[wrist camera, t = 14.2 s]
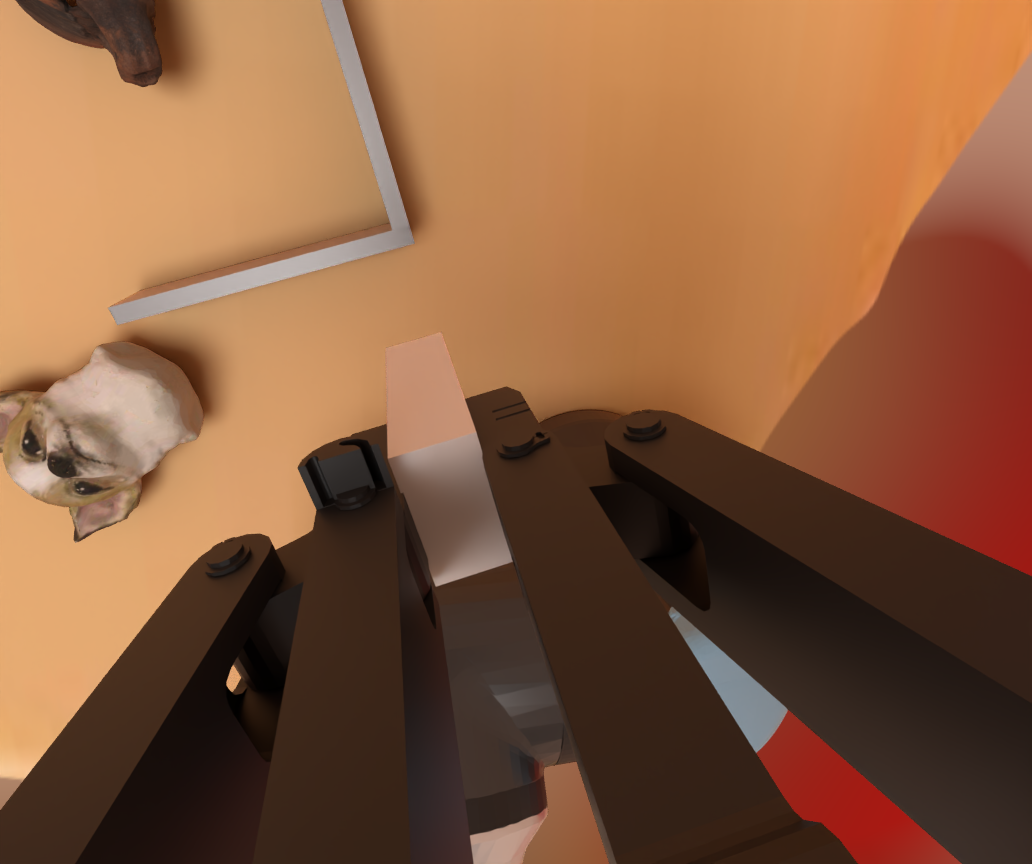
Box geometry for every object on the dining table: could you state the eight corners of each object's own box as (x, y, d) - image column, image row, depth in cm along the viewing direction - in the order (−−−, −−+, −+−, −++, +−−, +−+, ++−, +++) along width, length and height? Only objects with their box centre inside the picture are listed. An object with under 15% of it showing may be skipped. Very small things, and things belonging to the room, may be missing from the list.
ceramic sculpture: (228, 469, 34) (37, 605, 36) (263, 408, 42) (104, 524, 44) (64, 318, 30) (-145, 484, 32) (137, 281, 38) (-34, 417, 39)
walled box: (411, 234, 40) (414, 243, 35) (148, 305, 38) (117, 325, 34) (258, -275, 29) (236, -355, 25) (-111, -202, 28) (-207, -272, 23)
